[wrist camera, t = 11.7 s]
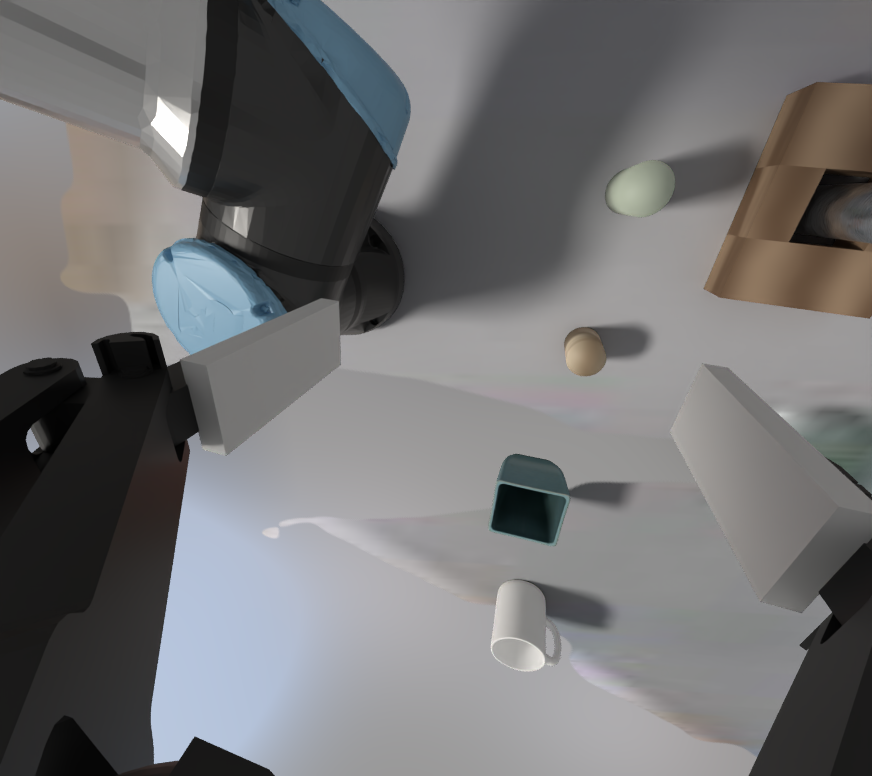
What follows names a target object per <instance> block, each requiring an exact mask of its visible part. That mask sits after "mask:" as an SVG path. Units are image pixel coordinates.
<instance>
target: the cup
mask: <svg viewBox="0 0 872 776" xmlns="http://www.w3.org/2000/svg"><path fill="white" fill-rule="evenodd" d="M546 627H548V628H549V629H550V631H551V632H552V634H553V637H554V644H555V648H554V654H553V657H550V656H549V655H547V654H546ZM491 652H492V654H493V656H494V657H495V658H496V659H497V660H498V661H499V662H500V663H502V664H503V665H505V666H507V667H509V668H512V669H515V670H519V671H536V670H538V669H540V668H542V667H543V666H544V664H547V665H549V666H555V665H557V664H558V662H559V660H560V656H561V639H560V635H559V632H558V630H557V628H556V626H555V625H554V624H553V622H552V621H551V620H549V619H548V618H547V617H546V601H545V597H544V595H543V593H542V591H541V590H540V589H539V588H538V587H537V586H535V585H534V584H532V583H530V582H527V581H523V580H510V581H507V582H505V583H503V584H502V585H501V586H500V588H499V590H498V595H497V602H496V611H495V618H494V626H493V634H492V643H491Z"/></svg>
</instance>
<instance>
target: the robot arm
mask: <svg viewBox="0 0 872 776" xmlns="http://www.w3.org/2000/svg"><path fill="white" fill-rule="evenodd" d="M0 99H1V100H4V101H6V102H9V103H12V104H15V105H18V106H21V107H23V108H26V109H29V110H32V111H35V112H38V113H41V114H43V115H46V116H49V117H52V118H55V119H58V120H60V121H63V122H66V123H69V124H72V125H74V126H77V127H80V128H83V129H86V130H89V131H91V132H94V133H97V134H100V135H103V136H106V137H108V138H111V139H114V140H117V141H120V142H123V143H125V144H128V145H131V146H134V147H137V148H139V149H140V150H142V151H143V152H144V153H146V154H147V155H148V156H149V157H150V158H151V159H152V161H153V162H154V163H155V164H156V166H157V167H158V168H159V169H160V171H161V172H162V173H163V175H164V176H165V177H166V178H167V180H168V181H169V182H170V184H171V185H172V186H173V187H175V188H177V189H180V190H183V191H186V192H189V193H192V194H195V195H199V196H202V197H203V199H202V206H201V212H200V218H199V225H198V231H197V236H196V238H185V239H180V240H178V241H176V242H175V243H174V244H173V245H172V246H171V247H169V248H166V249H164V250H163V251H162V252H161V253H160V254H159V255H158V257H157V259H156V261H155V263H154V266H153V271H152V285H153V293H154V297H155V300H156V303H157V306H158V309H159V311H160V313H161V315H162V317H163V319H164V321H165V323H166V325H167V327H168V328H169V329H170V330H171V331H172V333H173V334H174V336H175V337H176V339H177V341H178V342H179V343H180V344H181V346H182V347H183V348H184V349H185V350H186V351H187V352H188V353H189V354H190V355H189V356H187V357H185V358H182V359H180V361H179V362H177V363H175V364H173V365H170V366H168V367H167V365H166V362H165V358H164V355H163V351H162V347H161V344H160V340H159V336H157V335H155V334H153V333H146V332H129V333H120V334H114V335H110V336H106V337H103V338H100V339H97V340H96V341H94V342H93V343H91V345H92V348H93V350H94V353H95V356H96V358H97V361H98V364H99V366H100V369H101V372H102V375H103V376H102V377H101V378H89V377H84V376H83V373H82V371H81V368H80V366H79V363H78V361H76V360H73V359H67V358H53V359H52V358H42V359H36V360H32V361H30V362H28V363H25V364H22V365H19V366H17V367H14V368H12V369H10V370H8V371H6V372H4V373H3V374H1V375H0V776H275V775H273V773H272V772H271V771H270V770H269V769H267V768H264V767H262V766H260V765H258V764H256V763H253V762H251V761H249V760H246V759H244V758H242V757H240V756H237V755H235V754H233V753H231V752H228V751H226V750H224V749H222V748H220V747H217V746H215V745H213V744H210V743H208V742H206V741H204V740H202V739H199V738H197V737H194V739H193V740H192V741H191V743H190V745H189V746H188V748H187V749H186V751H185V752H184V754H183V755H182V757H181V758H180V760H179V761H172V762H165V763H158V764H154V747H153V738H152V730H151V703H152V696H153V690H154V684H155V677H156V670H157V664H158V657H159V651H160V644H161V638H162V631H163V624H164V617H165V611H166V605H167V598H168V592H169V585H170V578H171V571H172V565H173V559H174V552H175V545H176V539H177V532H178V526H179V519H180V513H181V506H182V499H183V493H184V486H185V480H186V473H187V467H188V460H189V454H190V449H189V445H188V441H187V439H188V438H190V437H191V436H193V435H194V434H195V433H197V432H199V436H200V440H201V444H202V448H203V450H206V451H210V452H214V453H217V454H221V455H225V456H227V455H228V454H229V453H230V452H232V451H233V450H234V449H235V448H237V447H238V446H239V445H240V444H242V443H243V442H244V441H245V440H247V439H248V438H249V437H250V436H252V435H253V434H254V433H256V432H257V431H258V430H259V429H261V428H262V427H263V426H264V425H266V424H267V423H268V422H269V421H271V420H272V419H273V418H274V417H276V416H277V415H278V414H279V413H281V412H282V411H283V410H284V409H286V408H287V407H288V406H289V405H291V404H292V403H293V402H294V401H296V400H297V399H298V398H299V397H301V396H302V395H303V394H304V393H306V392H307V391H308V390H309V389H311V388H312V387H313V386H314V385H316V384H317V383H318V382H319V381H321V380H322V379H323V378H325V377H326V376H327V375H328V374H330V373H331V372H332V371H333V370H335V369H336V368H337V367H338V366H340V365H341V349H340V335H357V334H362V333H366V332H369V331H371V330H373V329H375V328H377V327H378V326H380V325H381V324H382V323H384V322H385V321H386V320H387V319H388V318H389V317H391V315H392V314H393V313H394V312H395V310H396V308H397V307H398V305H399V303H400V300H401V297H402V293H403V288H404V269H403V263H402V259H401V256H400V253H399V251H398V248H397V246H396V244H395V243H394V241H393V239H392V238H391V236H390V235H389V233H388V232H387V231H386V230H385V229H384V228H383V227H382V226H381V225H380V224H379V223H378V222H377V221H376V220H374V219H373V217H374V214H375V212H376V209H377V207H378V204H379V202H380V199H381V197H382V194H383V192H384V189H385V187H386V184H387V182H388V179H389V177H390V174H391V172H392V169H394V170H395V168H396V166H397V155H398V152H399V149H400V146H401V143H402V140H403V137H404V134H405V131H406V129H407V126H408V123H409V120H410V113H411V105H410V100H409V96H408V93H407V91H406V89H405V87H404V85H403V83H402V82H401V80H400V79H399V77H398V76H397V75H396V73H395V72H394V71H393V70H392V69H391V68H390V66H389V65H388V64H387V63H386V62H385V61H384V60H383V59H382V58H381V57H380V56H379V55H378V54H377V53H376V52H375V51H374V49H373V48H372V47H370V46H369V45H368V44H367V43H366V42H365V41H364V40H363V39H362V38H361V37H360V36H359V35H358V34H357V33H356V32H355V31H354V30H353V29H352V28H351V27H350V26H349V25H348V24H347V23H345V22H344V21H343V20H342V19H341V18H340V17H339V16H338V15H337V14H336V13H335V12H333V11H332V10H331V9H330V8H329V7H328V6H327V5H325V4H324V3H323V2H322V1H321V0H0ZM30 428H31V430H32V432H33V434H34V436H35V438H36V440H37V442H38V443H39V446H40V447H39V448H38V449H36V450H35V451H34V452H33V453H31V452H30V451H29V450H28V447H27V443H26V436H27V432H28V430H29V429H30ZM670 433H671V435H672V437H673V439H674V441H675V443H676V445H677V447H678V448H679V450H680V452H681V454H682V456H683V458H684V460H685V462H686V463H687V465H688V467H689V469H690V471H691V473H692V475H693V476H694V478H695V480H696V482H697V484H698V486H699V488H700V490H701V492H702V494H703V495H704V497H705V499H706V501H707V503H708V505H709V507H710V509H711V510H712V512H713V514H714V516H715V518H716V520H717V522H718V524H719V525H720V527H721V529H722V531H723V533H724V535H725V537H726V539H727V540H728V542H729V544H730V546H731V548H732V550H733V552H734V554H735V556H736V557H737V559H738V561H739V563H740V565H741V567H742V569H743V571H744V572H745V574H746V576H747V578H748V580H749V582H750V584H751V586H752V587H753V589H754V591H755V593H756V595H757V597H758V599H759V601H760V602H763V603H767V604H771V605H774V606H778V607H782V608H785V609H789V610H793V611H796V612H800V613H802V612H803V611H804V610H805V609H806V608H807V607H808V606H809V605H810V604H811V602H812V601H813V600H814V599H815V598H816V597H817V596H818V595H819V594H820V595H821V597H822V598H823V599H824V601H825V602H826V604H827V605H828V607H829V608H830V609H831V611H832V613H831V614H830V615H829V616H828V617H827V618H826V619H825V620H824V621H823V622H822V623H821V624H820V625H819V626H818V627H817V628H816V629H815V630H814V631H813V632H812V633H811V634H810V635H809V636H808V637H807V638H806V639H805V640H804V641H803V642H802V643H801V644H800V646H801V647H802V648H804V649H805V650H808V649H809V650H808V652H807V654H806V656H805V658H804V660H803V662H802V664H801V667H800V669H799V671H798V673H797V675H796V677H795V679H794V681H793V683H792V686H791V688H790V690H789V692H788V694H787V696H786V698H785V700H784V702H783V704H782V707H781V709H780V711H779V713H778V715H777V717H776V719H775V721H774V723H773V725H772V728H771V730H770V732H769V734H768V736H767V738H766V740H765V742H764V744H763V747H762V749H761V751H760V753H759V755H758V757H757V759H756V761H755V764H754V766H753V768H752V770H751V772H750V774H749V776H872V497H871V495H872V494H871V493H870V492H868V491H867V490H866V489H865V488H864V487H863V486H862V485H859V484H857V483H858V482H857V481H856V480H855V479H854V478H853V477H852V476H851V475H850V474H848V473H847V472H846V471H845V470H844V469H843V468H842V467H841V466H839V465H837V464H836V463H834V462H832V461H831V460H829V459H828V458H826V457H824V456H823V455H822V454H821V453H820V452H819V451H818V450H816V449H815V448H814V447H813V446H812V445H811V444H810V443H809V442H808V441H807V440H806V439H805V438H803V437H802V436H801V435H800V434H799V433H798V432H797V431H796V430H795V429H794V428H793V427H792V426H790V425H789V424H788V423H787V422H786V421H785V420H784V419H783V418H782V417H781V416H780V415H779V414H777V413H776V412H775V411H774V410H773V409H772V408H771V407H770V406H769V405H768V404H767V403H765V402H764V401H763V400H762V399H761V398H760V397H759V396H758V395H757V394H756V393H755V392H754V391H752V390H751V389H750V388H749V387H748V386H747V385H746V384H745V383H744V382H743V381H742V380H741V379H739V378H738V377H737V376H736V375H735V374H734V373H733V372H732V371H731V370H730V369H729V368H726V367H720V366H714V365H709V364H703V363H702V365H701V367H700V369H699V371H698V373H697V375H696V378H695V380H694V382H693V384H692V386H691V388H690V390H689V392H688V394H687V397H686V399H685V401H684V403H683V405H682V407H681V409H680V411H679V413H678V416H677V418H676V420H675V422H674V424H673V426H672V428H671V430H670Z"/></svg>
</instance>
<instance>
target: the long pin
mask: <svg viewBox="0 0 872 776" xmlns="http://www.w3.org/2000/svg"><path fill="white" fill-rule="evenodd" d="M794 232H795V233H798V234H804V235H811V236H818V237H826V238H833V239H841V240H848V241H856V242H863V243H871V244H872V183H856V184H837V185H821V186H817V188H816V190H815V192H814V194H813V196H812V198H811V200H810V202H809V204H808V206H807V208H806V210H805V212H804V214H803V216H802V217H801V219H800V221H799V223H798V225H797V227H796V229H795V231H794Z"/></svg>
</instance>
